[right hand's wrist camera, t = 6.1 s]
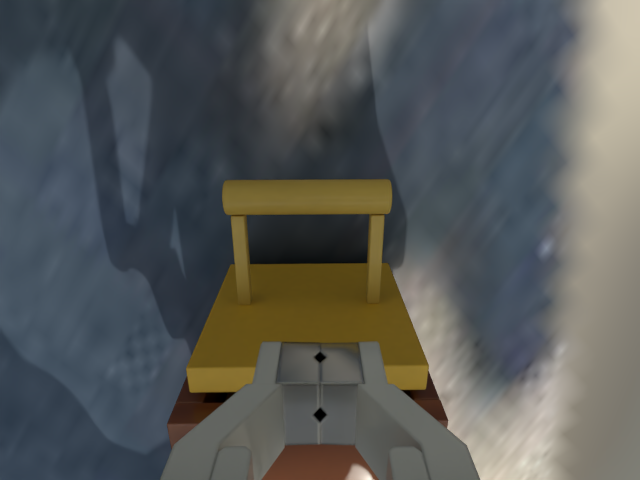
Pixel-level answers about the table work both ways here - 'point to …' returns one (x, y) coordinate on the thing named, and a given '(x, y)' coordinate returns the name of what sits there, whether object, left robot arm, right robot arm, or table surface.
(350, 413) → the right robot arm
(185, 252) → the table surface
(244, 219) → the yellow drawer
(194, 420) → the cabinet
